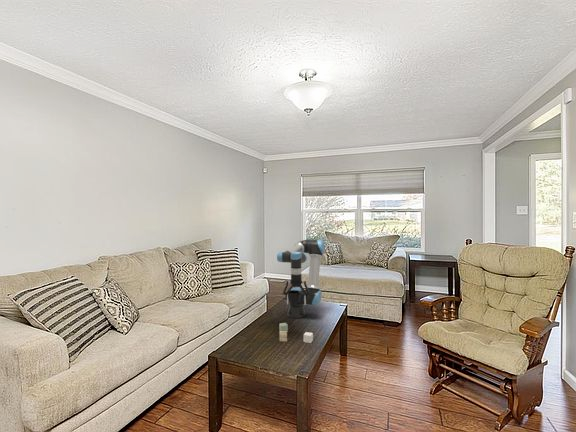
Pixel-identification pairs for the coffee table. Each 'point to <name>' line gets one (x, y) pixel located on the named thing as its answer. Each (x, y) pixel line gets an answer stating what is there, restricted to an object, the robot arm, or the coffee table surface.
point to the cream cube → (308, 337)
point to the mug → (294, 297)
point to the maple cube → (283, 336)
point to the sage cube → (283, 327)
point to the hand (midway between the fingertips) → (296, 304)
